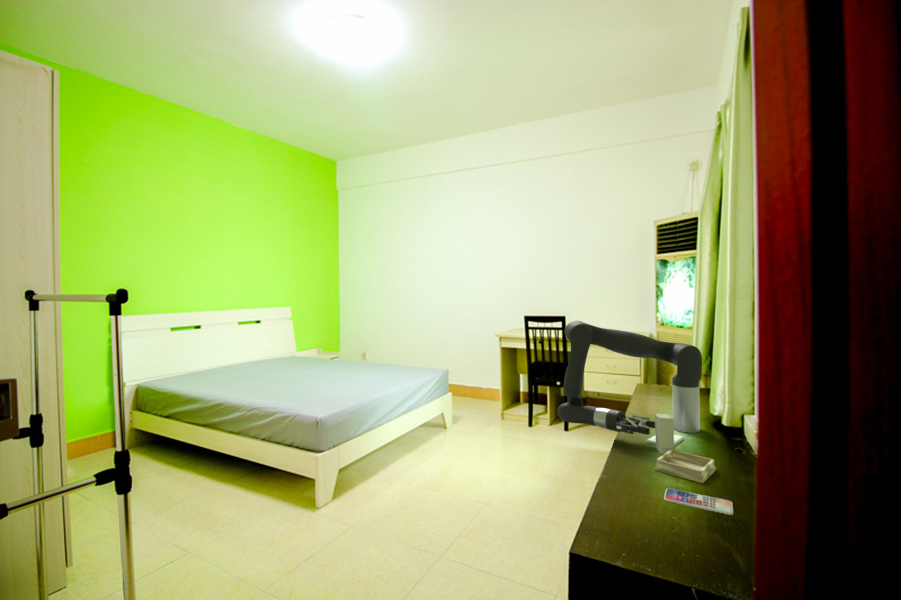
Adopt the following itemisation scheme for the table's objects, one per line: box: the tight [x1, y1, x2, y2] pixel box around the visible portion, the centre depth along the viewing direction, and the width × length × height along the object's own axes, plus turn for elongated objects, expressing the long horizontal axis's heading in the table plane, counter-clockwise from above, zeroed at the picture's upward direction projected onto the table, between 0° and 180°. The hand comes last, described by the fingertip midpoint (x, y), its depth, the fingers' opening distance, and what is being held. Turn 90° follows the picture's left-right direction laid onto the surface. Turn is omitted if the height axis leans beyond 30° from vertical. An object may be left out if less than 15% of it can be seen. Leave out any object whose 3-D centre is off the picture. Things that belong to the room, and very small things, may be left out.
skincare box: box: [654, 412, 675, 455], centre depth 142 cm, size 6×4×12 cm
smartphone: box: [663, 487, 734, 516], centre depth 107 cm, size 7×1×15 cm
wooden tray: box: [653, 449, 718, 484], centre depth 127 cm, size 13×13×3 cm
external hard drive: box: [646, 434, 685, 447], centre depth 152 cm, size 2×8×12 cm
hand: (654, 428), depth 144 cm, fingers open, 8 cm apart
